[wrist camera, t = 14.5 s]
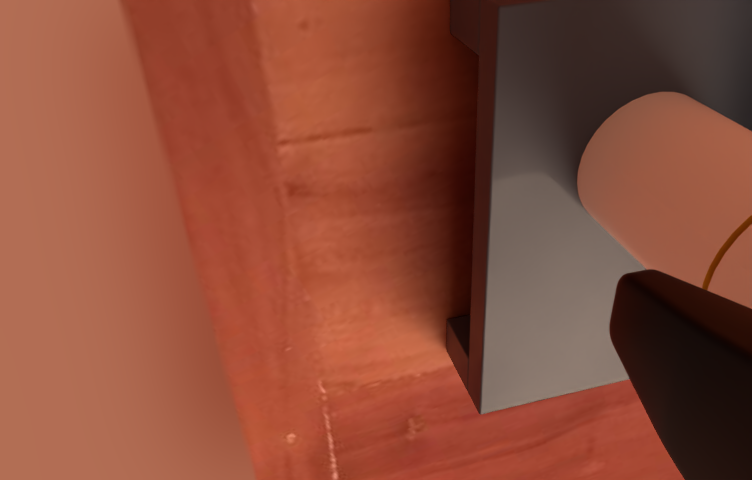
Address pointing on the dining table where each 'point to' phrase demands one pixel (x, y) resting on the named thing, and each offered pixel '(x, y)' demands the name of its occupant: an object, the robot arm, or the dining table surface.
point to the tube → (675, 190)
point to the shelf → (568, 173)
